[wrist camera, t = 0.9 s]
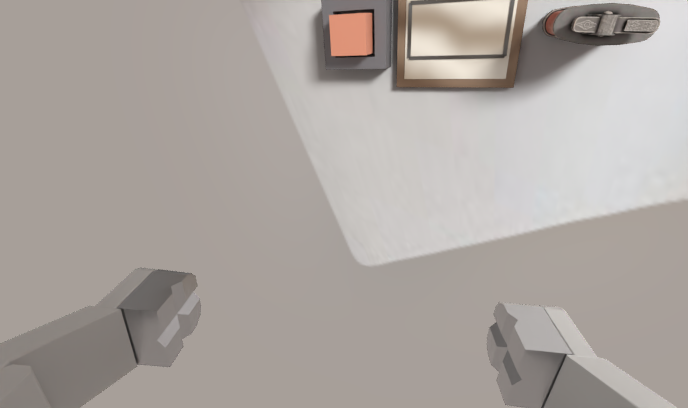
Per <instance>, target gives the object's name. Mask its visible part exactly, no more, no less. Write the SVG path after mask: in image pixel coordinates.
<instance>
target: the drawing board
mask: <svg viewBox="0 0 688 408" xmlns="http://www.w3.org/2000/svg"><path fill="white" fill-rule="evenodd" d="M527 3H528V0H398V43H397V87H496V88H513V87H514V81H515V75H516V69H517V63H518V57H519V51H520V45H521V39H522V33H523V27H524V21H525V15H526V9H527Z"/></svg>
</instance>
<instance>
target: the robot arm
mask: <svg viewBox="0 0 688 408" xmlns="http://www.w3.org/2000/svg"><path fill="white" fill-rule="evenodd" d="M196 287H197V282H196V276H195V275H193V274H192V273H184V272H176V271H168V270H159V269H158V270H155V269H148V268H138V269H135V270H134V271H133V272H131V273H130V274H129V275H128V276H127V277H126V278H125V279H124V280H123V281H122V282H121V283H120V284H119V285H117V286H116V287H115V288H114V289H113V290H112V291H111V292H110V293H109V294H108V295H107V296H106V297H104V298H103V299H102V300H101V301H100V302H99V303H98V304H97V305H96V306H88V307H85V308H83V309H80V310H78V311H76V312H73V313H71V314H69V315H66V316H64V317H62V318H59V319H57V320H54V321H52V322H50V323H48V324H45V325H43V326H40V327H38V328H36V329H33V330H31V331H28V332H26V333H24V334H21V335H19V336H17V337H15V338H12V339H10V340H7V341H5V342H3V343H0V408H80V407H81V406H83V405H84V404H86V403H87V402H88V401H90V400H91V399H93V398H94V397H95V396H97V395H98V394H100V393H101V392H102V391H104V390H105V389H107V388H108V387H109V386H111V385H112V384H113V383H115V382H116V381H117V380H119V379H120V378H122V377H123V376H125V375H126V374H127V373H129V372H130V371H131V370H133V369H134V368H136V367H137V365H150V366H162V367H170V366H171V365H172V363H173V362H174V360H175V359H176V357H177V356H178V354H179V352H180V351H181V349H182V348H183V341H182V339H183V338H185V337H186V336H188V335H190V334H191V333H192V332H193V331H194V329H195V327H196V326H197V323H198V320H199V317H200V312H201V304H200V298H199V297H198V296H197V295H196V294H195V293H194V292H193V291H194V290H195V289H196ZM494 317H495V319H496V323H495V324H493V325H492V326H491V327H490V328H489V332H488V337H487V350H488V356H489V360H490V363H491V365H492V366H493V367H494V368H495V369H496V370H497V371H499V374H498V377H497V383H498V385H499V388H500V392H501V394H502V397H503V400H504V403H505V405H510V406H517V407H524V408H677V407H676V406H674V405H672V404H671V403H670V402H668V401H666V400H665V399H664V398H662V397H661V396H659V395H658V394H656V393H655V392H653V391H652V390H650V389H649V388H647V387H646V386H645V385H643V384H642V383H640V382H639V381H637V380H636V379H634V378H633V377H631V376H630V375H628V374H627V373H625V372H624V371H622V370H621V369H619V368H618V367H616V366H615V365H613V364H612V363H610V362H609V361H608V360H606V359H604V358H598V357H597V356H596V354H595V353H594V352H593V350H592V349H591V347H590V346H589V344H588V343H587V342H586V340H585V339H584V337H583V336H582V334H581V333H580V332H579V330H578V329H577V327H576V326H575V324H574V323H573V321H572V320H571V319H570V317H569V316H568V314H567V313H566V311H565V310H564V309H562V308H561V307H555V306H541V305H539V306H534V305H523V304H511V303H500V302H499V303H498V304H497V306H496V308H495V311H494Z"/></svg>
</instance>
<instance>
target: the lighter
mask: <svg viewBox="0 0 688 408" xmlns="http://www.w3.org/2000/svg"><path fill="white" fill-rule="evenodd" d="M659 25H660V17H659V14H658V12H657V11H656V10H654V9H651V8H647V7H642V6H637V5H631V4H617V3H605V4H590V5H583V6H571V7H565V8H560V9H555V10H552V11H551V12H550V13H548V14H547V16H546V17H545V19H544V21H543V31H544V33H545V34H546V35H548V36H552V37H556V38H559V39H561V40H565V41H570V42H574V43H578V44H588V45H597V46H599V45H621V44H628V43H635V42H641V41H644V40H646V39H648V38H649V37H651V36H652V35H653V34H654V32H656V31H657V29H658V27H659Z"/></svg>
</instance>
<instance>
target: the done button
mask: <svg viewBox="0 0 688 408" xmlns="http://www.w3.org/2000/svg"><path fill="white" fill-rule="evenodd" d="M329 25H330V41H331V56H358V55H369V54H371V53H373V20H372V13H354V14H338V15H329Z"/></svg>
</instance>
